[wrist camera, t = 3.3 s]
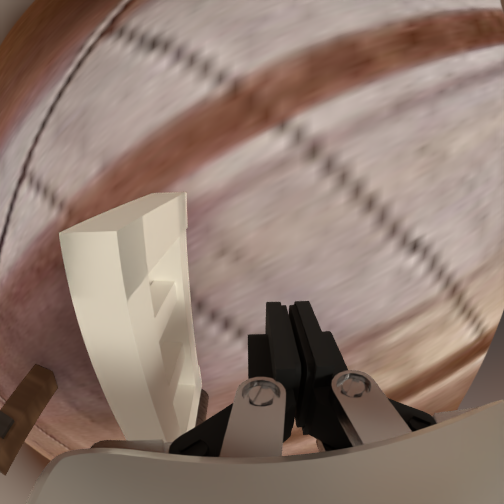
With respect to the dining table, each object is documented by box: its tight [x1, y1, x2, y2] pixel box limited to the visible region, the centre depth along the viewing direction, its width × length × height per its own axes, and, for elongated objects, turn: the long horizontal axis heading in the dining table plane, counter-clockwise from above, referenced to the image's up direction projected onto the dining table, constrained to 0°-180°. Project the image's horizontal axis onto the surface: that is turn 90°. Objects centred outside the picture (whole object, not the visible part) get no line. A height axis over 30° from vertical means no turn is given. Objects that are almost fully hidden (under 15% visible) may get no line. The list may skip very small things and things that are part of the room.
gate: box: [59, 192, 202, 442], centre depth 13 cm, size 2×15×9 cm, turn 179°
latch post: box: [0, 364, 58, 475], centre depth 15 cm, size 3×2×13 cm
